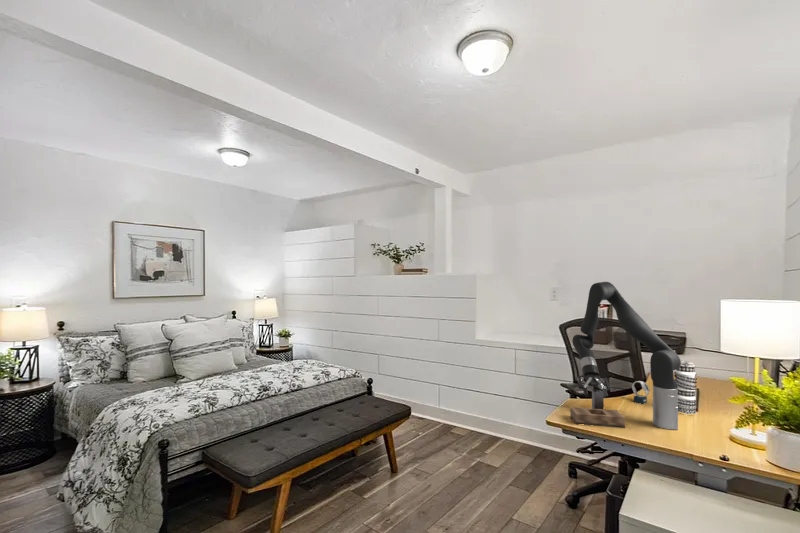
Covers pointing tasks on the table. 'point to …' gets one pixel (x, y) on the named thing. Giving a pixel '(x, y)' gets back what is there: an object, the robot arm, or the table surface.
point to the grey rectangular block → (597, 399)
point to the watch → (638, 397)
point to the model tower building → (686, 387)
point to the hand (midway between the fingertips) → (596, 396)
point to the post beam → (597, 417)
